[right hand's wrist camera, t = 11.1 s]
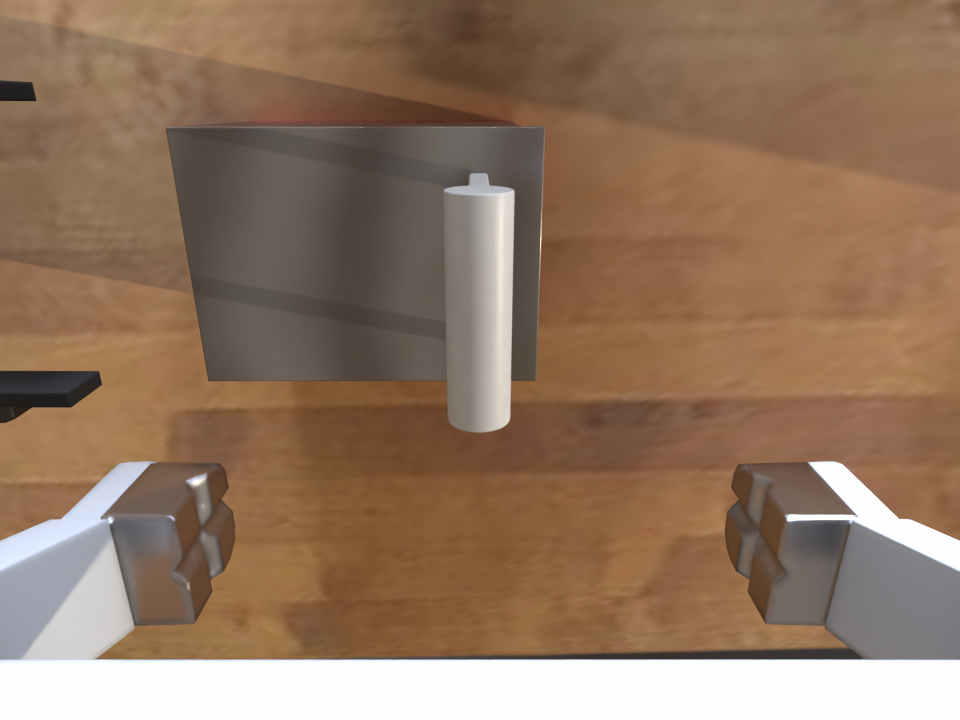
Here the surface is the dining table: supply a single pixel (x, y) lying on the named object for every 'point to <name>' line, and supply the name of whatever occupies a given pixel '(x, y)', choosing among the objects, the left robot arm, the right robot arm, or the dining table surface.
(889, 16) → the dining table surface
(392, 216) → the lid
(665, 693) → the right robot arm
